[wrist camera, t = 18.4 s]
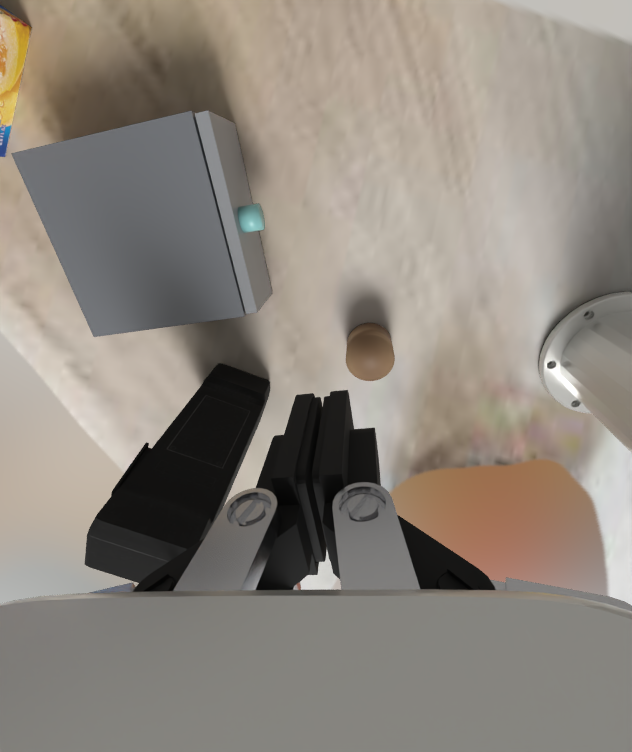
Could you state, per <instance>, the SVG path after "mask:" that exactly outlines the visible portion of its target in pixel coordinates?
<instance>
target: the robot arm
mask: <svg viewBox="0 0 632 752" xmlns="http://www.w3.org/2000/svg"><path fill="white" fill-rule="evenodd" d="M585 313H586V314H585ZM539 374H540V378H541V381H542V384H543V385H544V387H545V388H546V390H547V392H548V393H549V394H550V395H551V396H552V397H553V398H554V399H555V400H556V401H557V402H559V403H560V404H561V405H563V406H565V407H567V408H569V409H571V410H574V411H578V412H582V413H592V414H593V415H594V416H595V417H596V418H597V419H598V420H599V421H600V422H601V423H602V424H603V425H604V426H605V427H606V428H607V429H608V430H609V431H610V432H611V433H612V434H613V435H614V436H615V437H616V438H617V439H618V440H619V441H620V442H621V443H622V444H623V445H624V446H625V447H627V448H628V449H629V450H630V451H631V452H632V292H620V293H612V294H608V295H605V296H602V297H598V298H596V299H593V300H591V301H589V302H587V303H585V304H583V305H581V306H580V307H578V308H576V309H575V310H573V311H572V312H570V313H569V314H568V315H567V316H566V317H565V318H563V319H562V320H561V321H560V322H559V323H558V324H557V326H556V327H555V328H554V329H553V330H552V332H551V333H550V335H549V336H548V338H547V340H546V341H545V343H544V346H543V348H542V351H541V354H540V360H539ZM326 548H327V550H328V555H329V559H330V561H331V565H332V569H333V573H334V574H335V575H336V576H337V577H338V578H339V579H340V581H341V590H301V585H300V581H301V580H302V579H303V578H305V577H306V576H307V575H317V574H318V564H319V562H324V561H325V558H326ZM0 752H632V606H631V605H630V604H628V603H626V602H624V601H621V600H618V599H615V598H612V597H608V596H603V595H597V594H592V593H587V592H582V591H576V590H571V589H565V588H560V587H555V586H549V585H544V584H539V583H533V582H528V581H523V580H517V579H512V578H506V582H505V583H504V582H499V581H494V580H490V579H489V578H488V576H486V575H485V574H484V573H483V572H482V571H480V570H479V569H478V568H476V567H475V566H474V565H472V564H470V563H469V562H468V561H466V560H465V559H463V558H462V557H460V556H459V555H457V554H456V553H454V552H453V551H451V550H450V549H448V548H446V547H445V546H444V545H442V544H441V543H439V542H438V541H436V540H434V539H433V538H431V537H430V536H429V535H427V534H425V533H424V532H423V531H421V530H419V529H418V528H416V527H415V526H413V525H412V524H410V523H409V522H407V521H406V520H404V519H403V518H401V517H400V516H398V515H397V513H396V510H395V507H394V503H393V500H392V497H391V496H390V494H389V492H388V491H387V490H386V489H384V488H383V487H382V486H381V484H380V470H379V459H378V450H377V441H376V433H375V428H365V429H354V426H353V420H352V413H351V406H350V399H349V393H348V390H343V391H333V392H331V393H330V396H326V397H324V403H323V407H322V402H321V398H320V397H316V398H315V396H314V394H313V393H312V394H302V395H296V397H295V401H294V404H293V407H292V411H291V414H290V417H289V420H288V424H287V427H286V430H285V434H284V435H278V436H274V438H273V439H272V442H271V445H270V448H269V451H268V454H267V457H266V460H265V463H264V466H263V469H262V471H261V474H260V477H259V480H258V483H257V486H256V488H253V489H248V490H245V491H242V492H240V493H238V494H236V495H235V496H234V497H232V498H231V499H230V500H229V501H228V502H227V503H226V504H225V506H224V507H223V509H222V510H221V512H220V514H219V515H218V517H217V519H216V520H215V522H214V524H213V525H212V527H211V529H210V530H209V532H208V534H207V535H206V537H205V538H204V539H202V540H201V541H199V542H198V543H196V544H195V545H193V546H192V547H190V548H189V549H187V550H186V551H184V552H183V553H181V554H179V555H178V556H176V557H175V558H173V559H172V560H170V561H169V562H167V563H166V564H164V565H163V566H161V567H160V568H158V569H157V570H155V571H154V572H152V573H151V574H149V575H148V576H147V577H146V578H144V579H143V580H142V581H141V582H140V583H139V584H138V585H137V586H136V587H135V585H134V584H133V583H129V584H124V585H120V586H116V587H112V588H107V589H103V590H99V591H95V592H90V593H83V594H64V595H49V596H38V597H32V598H25V599H19V600H13V601H9V602H6V603H1V604H0Z"/></svg>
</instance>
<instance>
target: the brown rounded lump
mask: <svg viewBox="0 0 632 752" xmlns="http://www.w3.org/2000/svg"><path fill="white" fill-rule="evenodd" d="M394 360H395V357H394V351H393V346H392V341H391V337H390V335H389V333H388V331H387V330H386V329H385V328H384V327H382V326H381V325H378V324H375V323H364V324H361V325H359V326H357V327H356V328H354V329H353V330H352V332H351V333H350V335H349V337H348V340H347V351H346V364H347V367H348V369H349V371H350V372H351V373H352V374H353V375H354V376H355V377H357V378H359V379H361V380H365V381H374V380H378V379H381V378H383V377H385V376H386V375H387V374H388V373H389V372H390V371H391V369H392V367H393V365H394Z"/></svg>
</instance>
